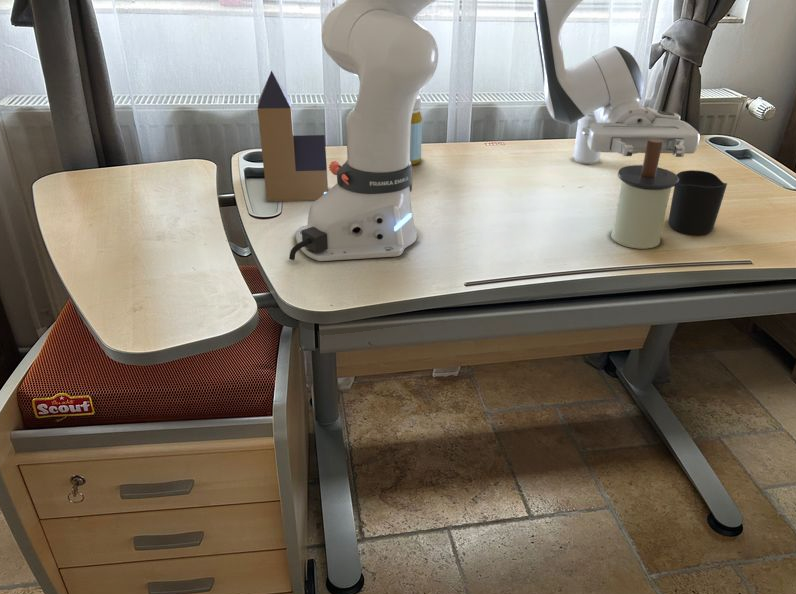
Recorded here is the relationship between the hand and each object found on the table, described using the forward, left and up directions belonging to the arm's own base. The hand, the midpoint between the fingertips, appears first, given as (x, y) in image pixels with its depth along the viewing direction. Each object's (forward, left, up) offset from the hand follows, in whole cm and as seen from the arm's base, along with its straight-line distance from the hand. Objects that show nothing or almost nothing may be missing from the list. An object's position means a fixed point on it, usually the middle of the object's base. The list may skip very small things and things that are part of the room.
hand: (654, 152), depth 128 cm
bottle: (-26, +56, -17) cm, 64 cm away
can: (0, +1, -17) cm, 17 cm away
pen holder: (+14, +2, -17) cm, 23 cm away
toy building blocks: (-54, +49, -17) cm, 75 cm away
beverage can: (+16, +43, -17) cm, 49 cm away
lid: (0, +1, -5) cm, 5 cm away
